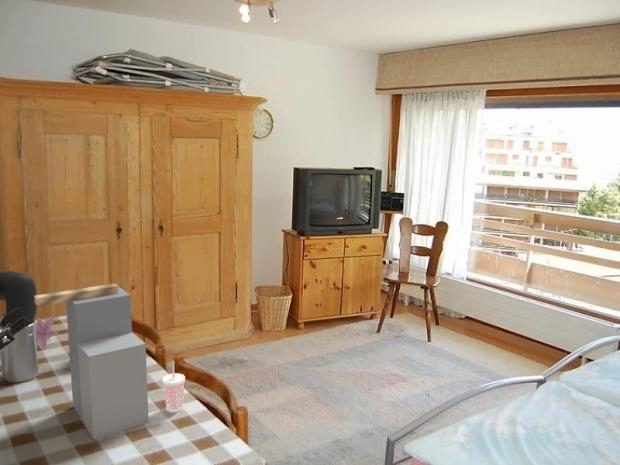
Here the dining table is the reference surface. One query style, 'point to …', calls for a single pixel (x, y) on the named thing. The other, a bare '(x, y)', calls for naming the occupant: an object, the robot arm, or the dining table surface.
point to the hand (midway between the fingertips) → (23, 314)
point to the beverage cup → (174, 391)
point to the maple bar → (75, 294)
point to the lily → (44, 331)
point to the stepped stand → (106, 364)
